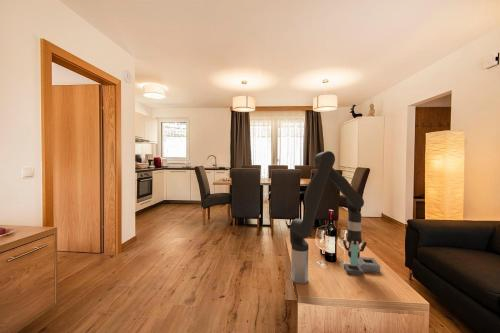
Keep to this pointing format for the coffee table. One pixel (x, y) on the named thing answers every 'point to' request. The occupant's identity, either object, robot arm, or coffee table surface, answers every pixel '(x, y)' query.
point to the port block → (369, 265)
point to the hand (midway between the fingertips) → (353, 257)
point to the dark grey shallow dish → (353, 269)
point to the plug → (354, 255)
